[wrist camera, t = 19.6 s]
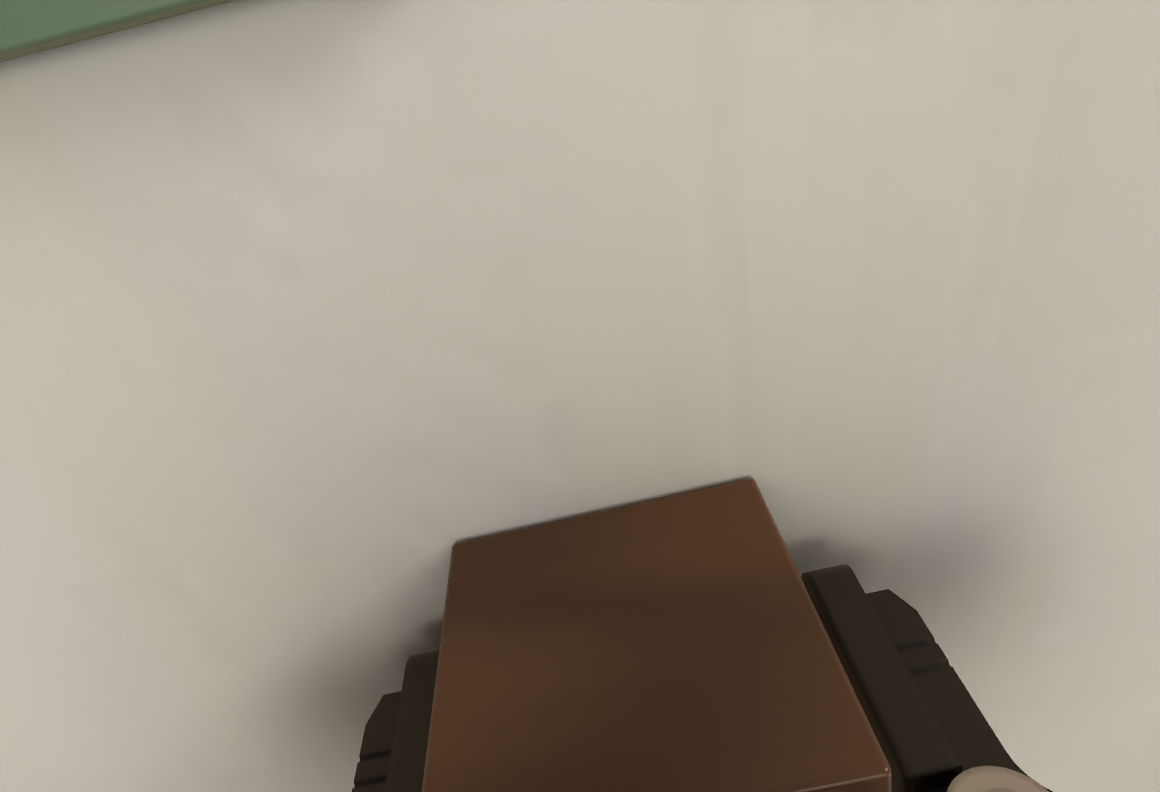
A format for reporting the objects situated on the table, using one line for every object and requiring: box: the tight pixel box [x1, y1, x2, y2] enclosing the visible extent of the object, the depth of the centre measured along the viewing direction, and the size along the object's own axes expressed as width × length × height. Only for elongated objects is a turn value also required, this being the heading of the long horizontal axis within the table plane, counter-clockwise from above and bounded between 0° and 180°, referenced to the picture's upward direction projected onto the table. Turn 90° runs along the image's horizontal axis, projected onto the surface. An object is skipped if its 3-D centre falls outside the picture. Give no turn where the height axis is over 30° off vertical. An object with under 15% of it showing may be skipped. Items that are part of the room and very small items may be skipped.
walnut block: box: [422, 479, 892, 792], centre depth 11 cm, size 5×5×5 cm
